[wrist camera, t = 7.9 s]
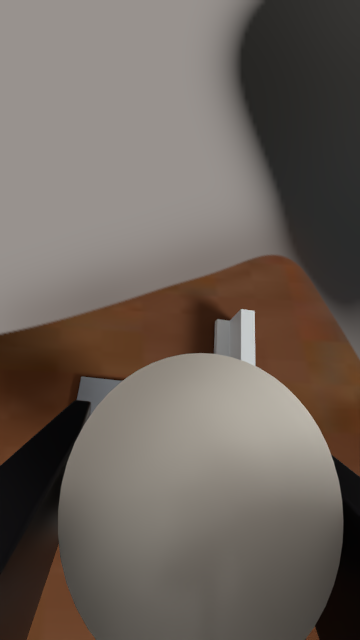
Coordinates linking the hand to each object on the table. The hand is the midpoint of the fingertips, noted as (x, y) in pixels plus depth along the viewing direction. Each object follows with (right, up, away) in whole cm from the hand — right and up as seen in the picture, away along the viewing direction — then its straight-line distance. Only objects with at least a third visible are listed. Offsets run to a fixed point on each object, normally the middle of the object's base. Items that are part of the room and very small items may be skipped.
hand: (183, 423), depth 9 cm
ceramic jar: (-1, -4, +6) cm, 7 cm away
